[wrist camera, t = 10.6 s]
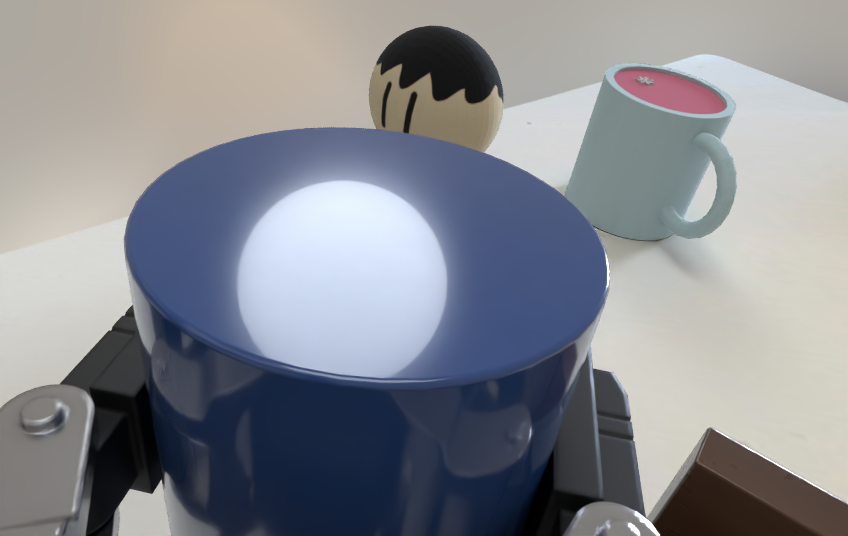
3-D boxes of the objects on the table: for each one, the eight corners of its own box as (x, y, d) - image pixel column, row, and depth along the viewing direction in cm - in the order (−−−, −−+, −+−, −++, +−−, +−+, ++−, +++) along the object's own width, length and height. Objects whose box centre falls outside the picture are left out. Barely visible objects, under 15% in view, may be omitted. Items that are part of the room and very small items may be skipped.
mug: (546, 178, 53) (582, 61, 47) (638, 174, 56) (683, 64, 50) (635, 284, 43) (696, 154, 37) (741, 273, 46) (814, 151, 40)
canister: (427, 853, 11) (583, 474, 5) (125, 707, 12) (-13, 270, 6) (502, 549, 16) (625, 184, 10) (283, 466, 17) (283, 99, 11)
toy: (327, 243, 42) (343, 8, 32) (400, 214, 46) (433, -3, 36) (416, 317, 37) (463, 71, 28) (488, 277, 41) (551, 51, 32)
